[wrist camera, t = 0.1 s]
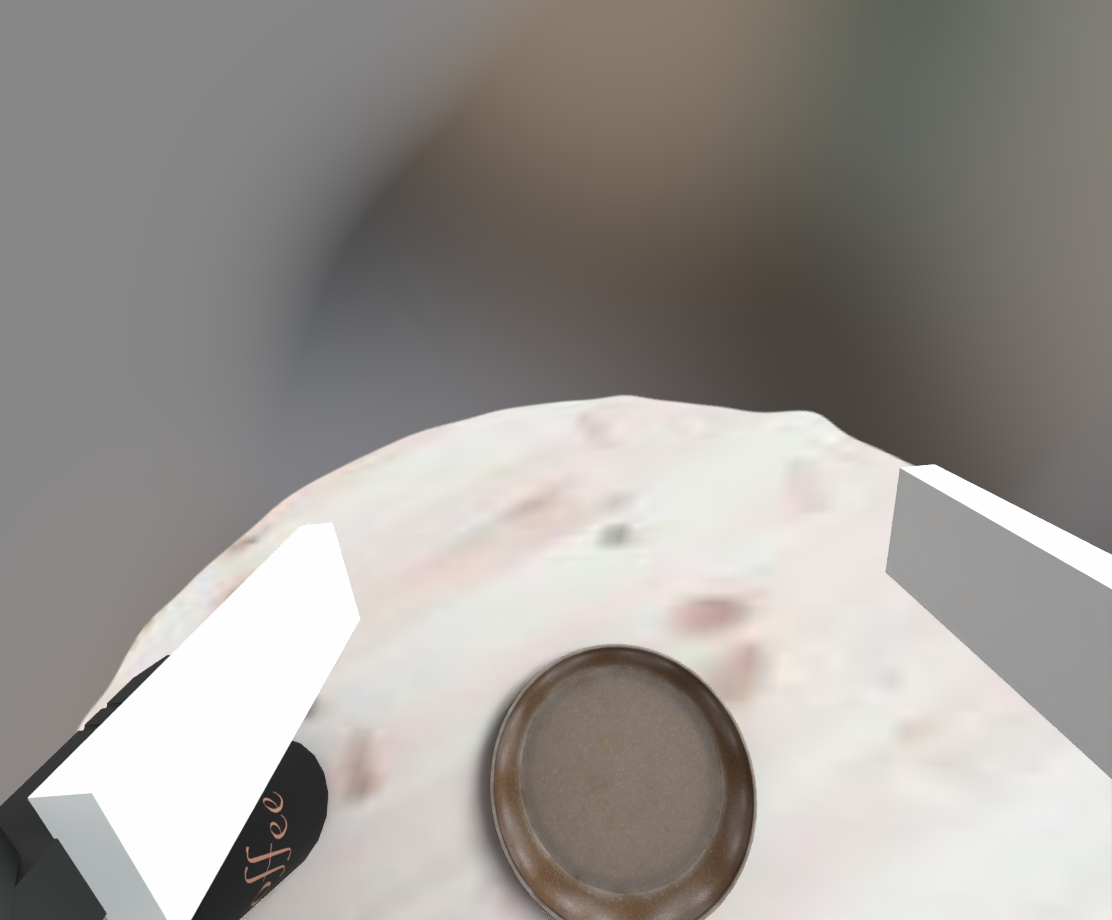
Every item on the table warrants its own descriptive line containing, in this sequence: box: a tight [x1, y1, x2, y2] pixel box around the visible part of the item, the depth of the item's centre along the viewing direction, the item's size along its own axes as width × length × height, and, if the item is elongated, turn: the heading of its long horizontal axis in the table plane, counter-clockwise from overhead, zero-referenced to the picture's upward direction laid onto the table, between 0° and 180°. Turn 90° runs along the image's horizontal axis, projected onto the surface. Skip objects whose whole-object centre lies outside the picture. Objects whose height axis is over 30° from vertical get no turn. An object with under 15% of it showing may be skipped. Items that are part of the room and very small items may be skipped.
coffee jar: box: [103, 741, 328, 920], centre depth 35 cm, size 11×11×18 cm
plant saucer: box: [490, 644, 757, 920], centre depth 41 cm, size 21×21×3 cm
